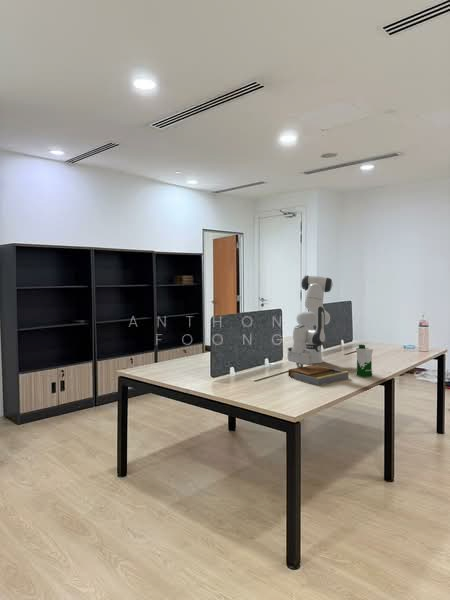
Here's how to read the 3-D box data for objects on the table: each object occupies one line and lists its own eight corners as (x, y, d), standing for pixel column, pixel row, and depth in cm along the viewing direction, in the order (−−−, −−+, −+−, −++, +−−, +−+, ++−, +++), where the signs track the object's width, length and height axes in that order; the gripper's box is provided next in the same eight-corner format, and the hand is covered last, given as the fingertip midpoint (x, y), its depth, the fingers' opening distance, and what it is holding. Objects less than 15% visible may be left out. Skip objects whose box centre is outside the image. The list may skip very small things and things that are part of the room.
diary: (313, 372, 289) (313, 364, 288) (334, 378, 273) (334, 369, 273) (288, 377, 276) (288, 368, 276) (308, 383, 260) (308, 373, 260)
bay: (294, 379, 268) (294, 372, 268) (324, 372, 285) (324, 366, 284) (318, 385, 252) (318, 378, 252) (348, 378, 268) (348, 371, 268)
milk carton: (364, 373, 281) (364, 344, 280) (374, 376, 273) (374, 345, 272) (354, 375, 277) (354, 345, 276) (364, 378, 269) (364, 347, 268)
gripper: (314, 350, 276) (314, 371, 277) (292, 347, 293) (292, 366, 293) (307, 351, 272) (307, 372, 273) (285, 347, 289) (286, 367, 290)
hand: (299, 369), depth 283 cm, fingers closed
